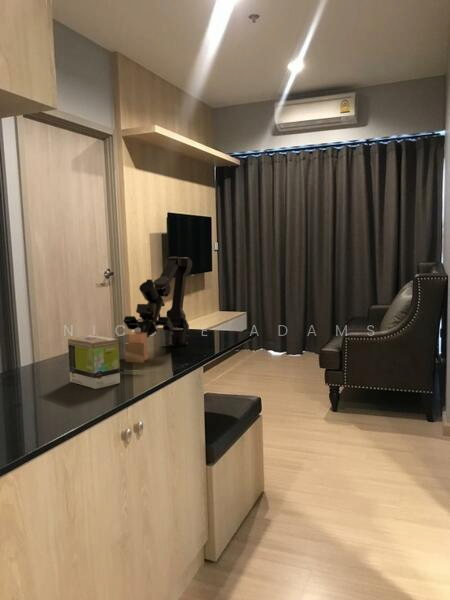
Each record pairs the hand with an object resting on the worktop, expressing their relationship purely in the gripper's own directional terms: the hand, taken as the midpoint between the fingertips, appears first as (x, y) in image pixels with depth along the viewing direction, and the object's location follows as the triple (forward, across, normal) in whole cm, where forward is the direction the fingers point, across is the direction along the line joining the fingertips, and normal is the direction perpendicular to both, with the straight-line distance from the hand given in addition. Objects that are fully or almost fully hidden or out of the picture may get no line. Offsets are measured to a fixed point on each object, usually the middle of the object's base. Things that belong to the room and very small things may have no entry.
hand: (141, 341), depth 195 cm
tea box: (+27, -2, -15) cm, 31 cm away
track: (+4, 0, +7) cm, 8 cm away
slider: (+6, 0, +3) cm, 7 cm away
